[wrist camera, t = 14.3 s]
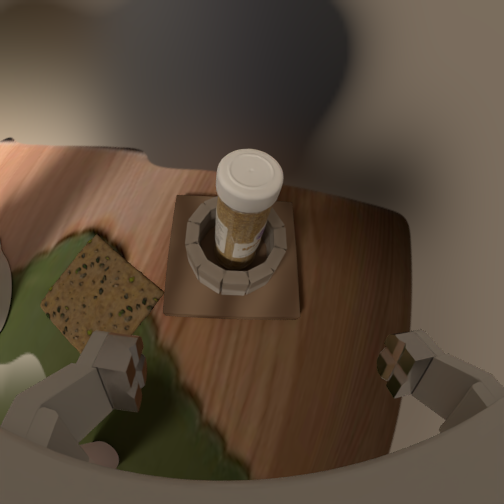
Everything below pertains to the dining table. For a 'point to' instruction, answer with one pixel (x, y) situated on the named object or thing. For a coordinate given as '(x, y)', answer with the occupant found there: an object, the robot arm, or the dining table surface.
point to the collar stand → (226, 280)
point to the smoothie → (101, 454)
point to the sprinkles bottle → (244, 204)
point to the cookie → (99, 295)
